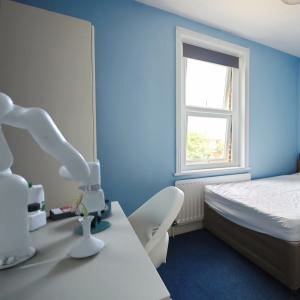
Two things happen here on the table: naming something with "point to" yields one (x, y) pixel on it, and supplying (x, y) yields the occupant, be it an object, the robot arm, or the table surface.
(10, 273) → the table surface
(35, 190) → the milk carton
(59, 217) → the calculator
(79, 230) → the lid
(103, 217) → the tin
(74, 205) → the flower in vase
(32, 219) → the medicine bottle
